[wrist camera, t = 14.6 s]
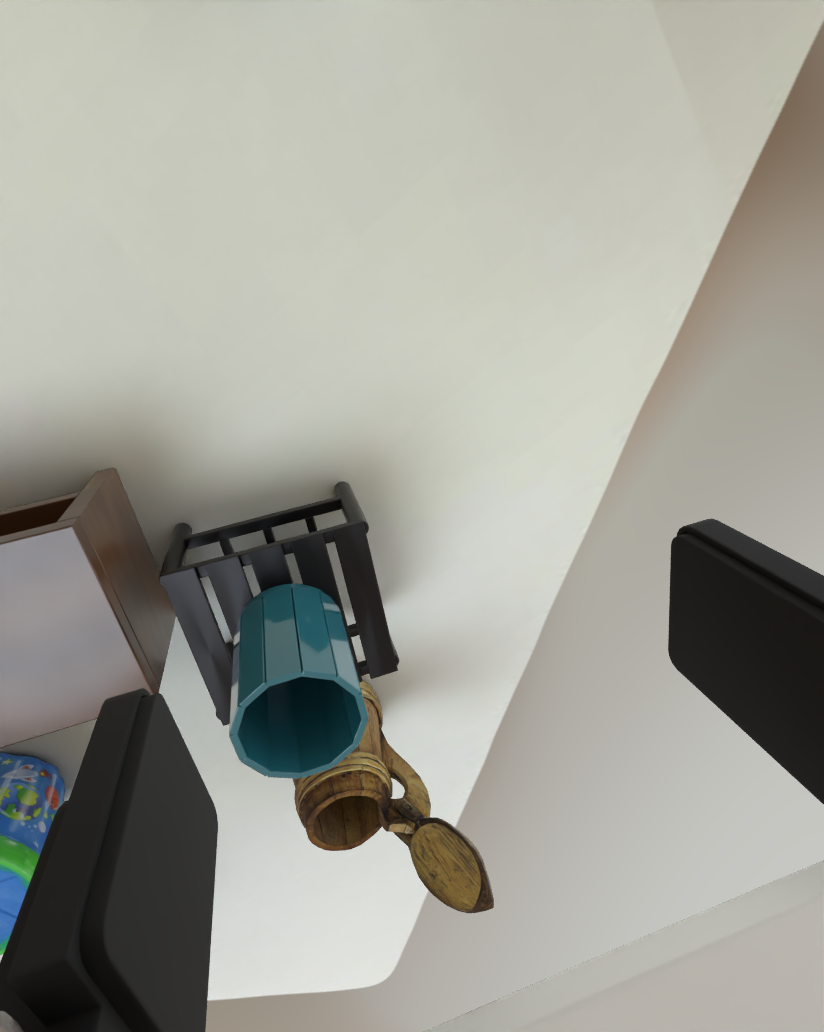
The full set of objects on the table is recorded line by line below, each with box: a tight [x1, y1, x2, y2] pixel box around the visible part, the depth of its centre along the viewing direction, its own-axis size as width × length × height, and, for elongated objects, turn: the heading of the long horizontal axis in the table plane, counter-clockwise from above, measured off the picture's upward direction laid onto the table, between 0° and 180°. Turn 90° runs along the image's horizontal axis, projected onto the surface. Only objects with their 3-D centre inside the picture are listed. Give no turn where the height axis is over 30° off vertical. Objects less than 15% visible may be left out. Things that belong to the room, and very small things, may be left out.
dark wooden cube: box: [0, 468, 176, 748], centre depth 35 cm, size 12×13×10 cm
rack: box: [159, 482, 399, 726], centre depth 40 cm, size 12×13×8 cm
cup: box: [229, 584, 369, 779], centre depth 33 cm, size 7×7×9 cm
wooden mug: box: [293, 681, 494, 913], centre depth 43 cm, size 9×14×18 cm, turn 75°
